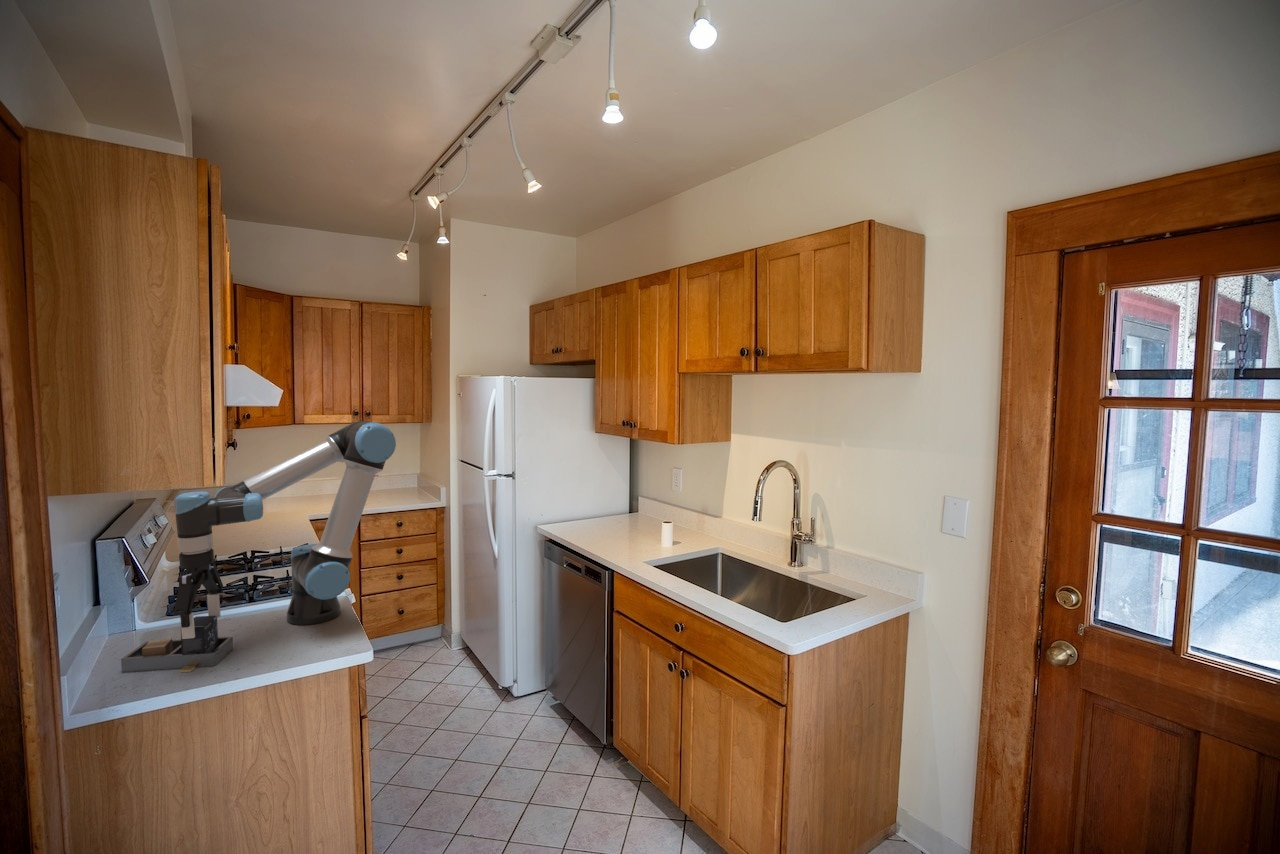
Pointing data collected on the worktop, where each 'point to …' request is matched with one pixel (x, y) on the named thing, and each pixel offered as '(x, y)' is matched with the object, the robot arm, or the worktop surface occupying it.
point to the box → (202, 636)
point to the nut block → (157, 648)
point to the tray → (176, 658)
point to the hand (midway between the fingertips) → (202, 627)
